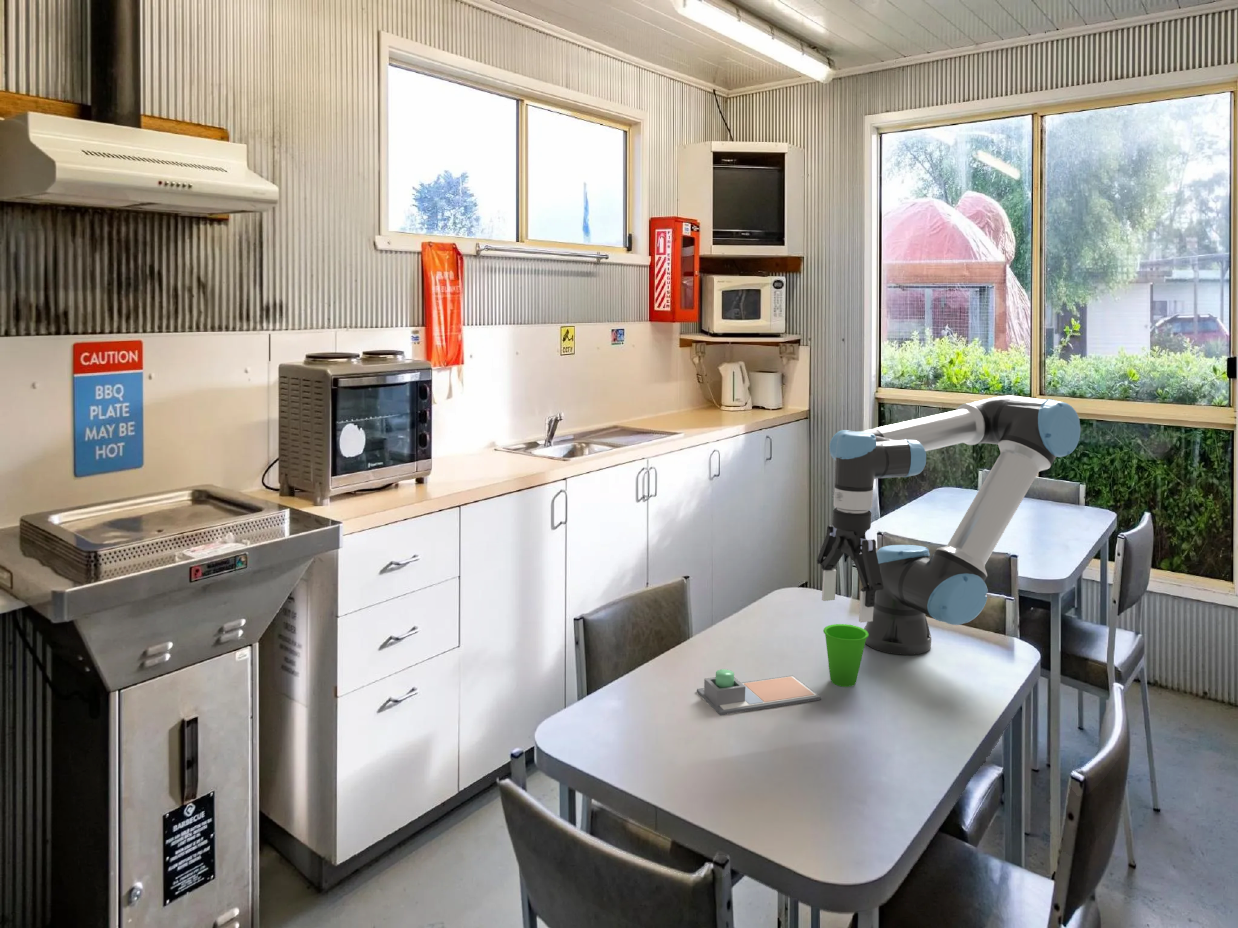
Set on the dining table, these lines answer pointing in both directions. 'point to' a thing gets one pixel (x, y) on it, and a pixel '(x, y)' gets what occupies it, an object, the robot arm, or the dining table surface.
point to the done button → (724, 678)
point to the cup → (844, 652)
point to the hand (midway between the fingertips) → (846, 610)
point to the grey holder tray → (756, 694)
